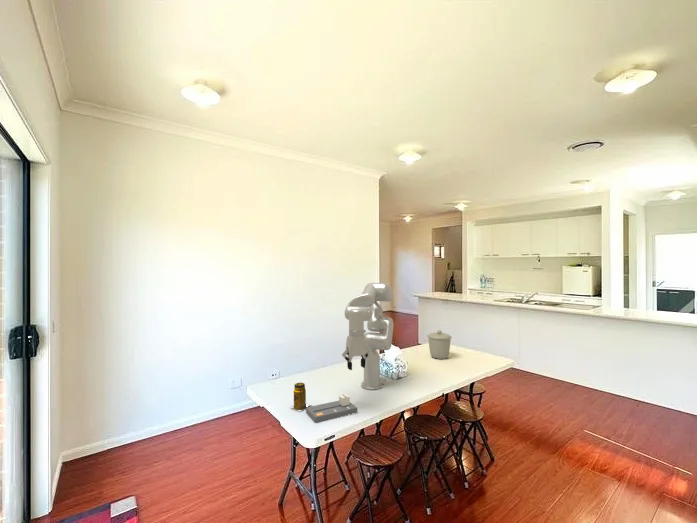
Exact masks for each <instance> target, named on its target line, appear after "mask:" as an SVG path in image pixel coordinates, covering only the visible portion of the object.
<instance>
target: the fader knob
mask: <svg viewBox="0 0 697 523" xmlns="http://www.w3.org/2000/svg"><path fill="white" fill-rule="evenodd" d="M350 398H351V397H350V395H348V394H341V395H339V397H338V399H339V400H338V401H339V404H340V405H341V406H346V405H350V402H351V400H350Z"/></svg>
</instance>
